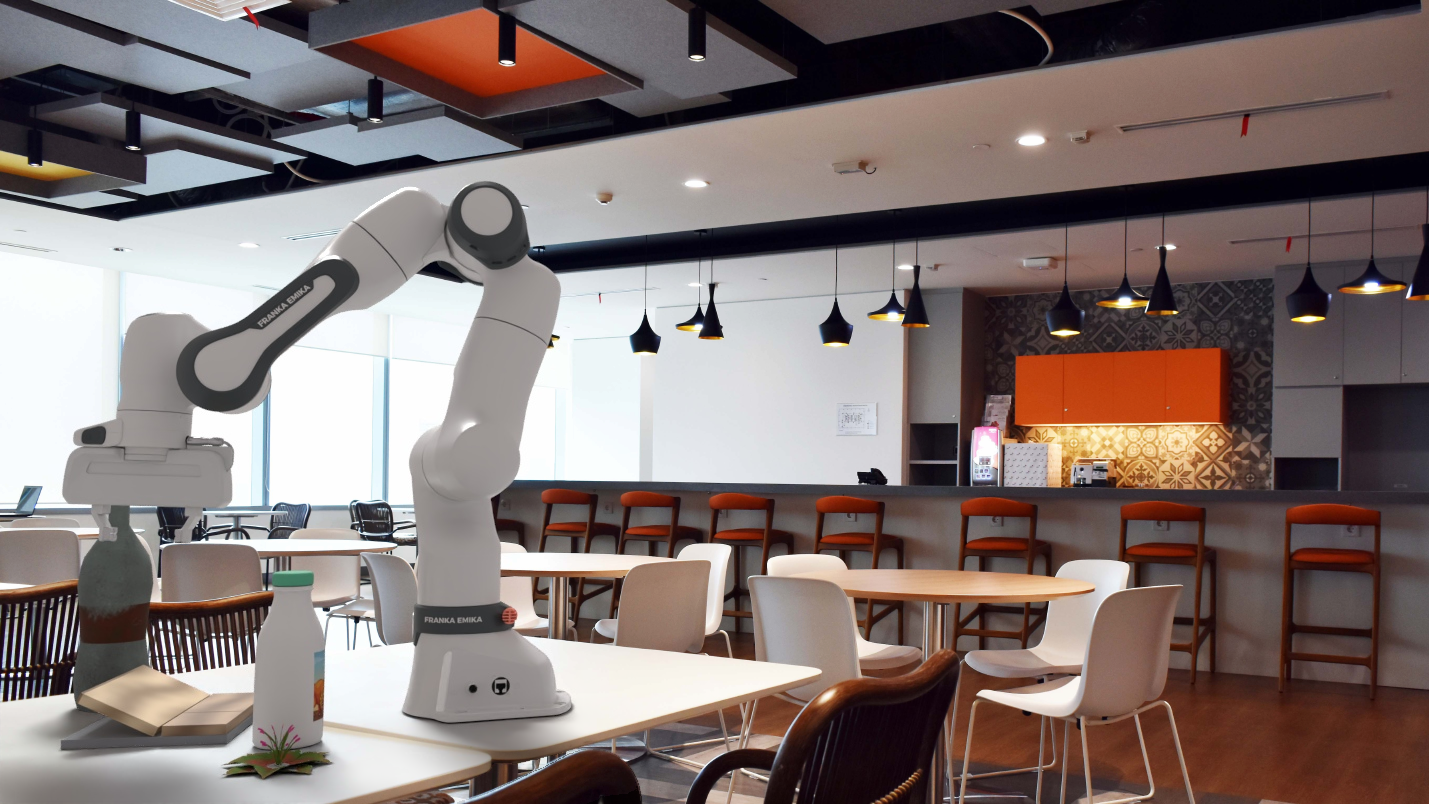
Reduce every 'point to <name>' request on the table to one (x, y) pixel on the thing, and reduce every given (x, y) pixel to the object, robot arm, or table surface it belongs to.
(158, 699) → the plank
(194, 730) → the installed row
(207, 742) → the underlay
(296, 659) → the milk bottle
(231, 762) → the green plant with flowers
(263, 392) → the robot arm
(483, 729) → the table surface
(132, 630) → the vodka
